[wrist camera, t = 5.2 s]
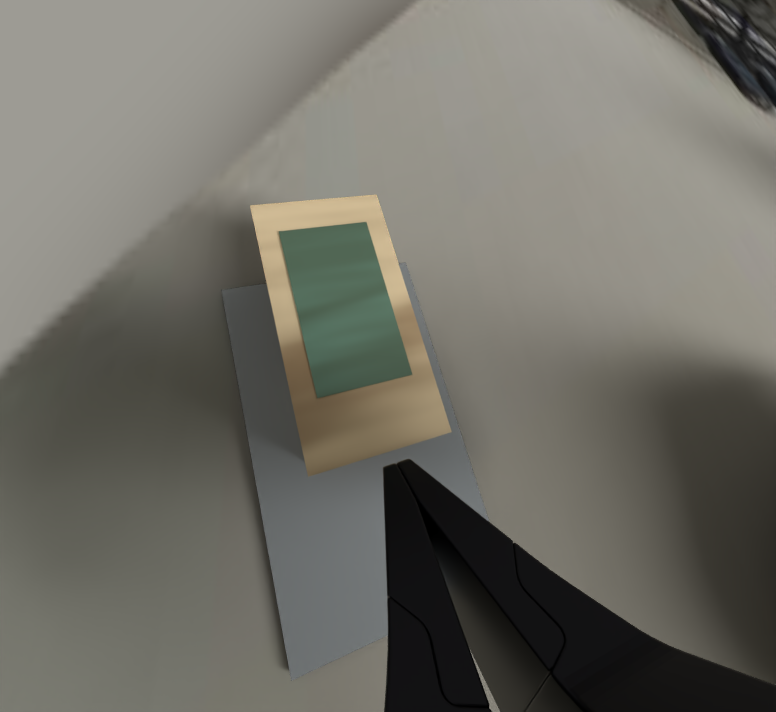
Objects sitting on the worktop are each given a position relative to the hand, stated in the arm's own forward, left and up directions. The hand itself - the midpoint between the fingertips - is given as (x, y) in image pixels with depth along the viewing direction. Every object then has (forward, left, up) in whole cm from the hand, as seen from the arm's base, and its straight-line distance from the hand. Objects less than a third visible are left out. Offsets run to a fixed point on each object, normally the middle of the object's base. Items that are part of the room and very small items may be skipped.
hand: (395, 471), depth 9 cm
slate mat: (0, -1, -7) cm, 7 cm away
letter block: (0, -1, -4) cm, 4 cm away
